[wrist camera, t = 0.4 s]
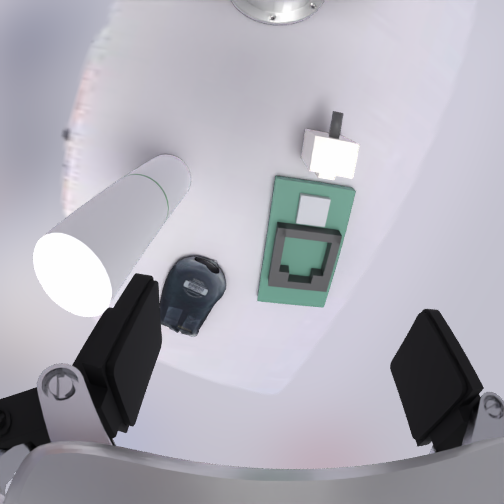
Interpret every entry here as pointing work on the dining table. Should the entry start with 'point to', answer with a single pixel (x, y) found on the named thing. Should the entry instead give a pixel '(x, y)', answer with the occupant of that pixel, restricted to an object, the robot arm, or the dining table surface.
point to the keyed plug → (330, 151)
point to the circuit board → (303, 241)
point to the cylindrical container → (108, 236)
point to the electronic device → (190, 295)
